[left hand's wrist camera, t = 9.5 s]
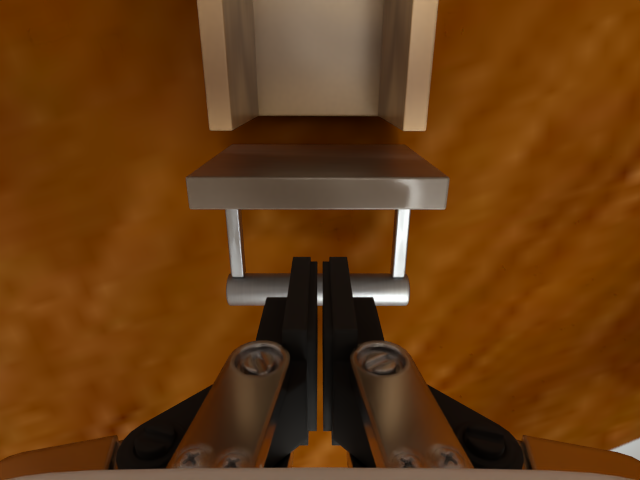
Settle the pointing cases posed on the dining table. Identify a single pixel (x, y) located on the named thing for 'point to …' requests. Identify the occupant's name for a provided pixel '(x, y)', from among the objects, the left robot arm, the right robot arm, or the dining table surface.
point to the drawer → (317, 100)
